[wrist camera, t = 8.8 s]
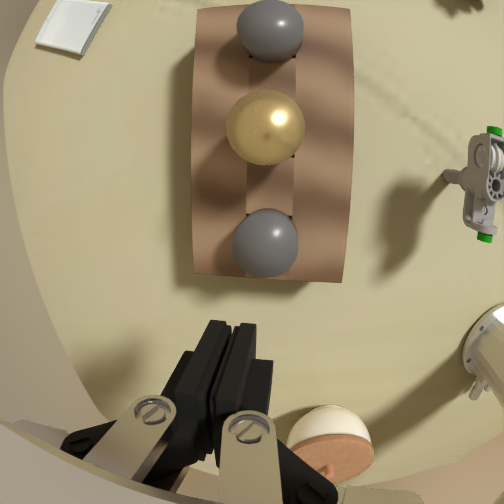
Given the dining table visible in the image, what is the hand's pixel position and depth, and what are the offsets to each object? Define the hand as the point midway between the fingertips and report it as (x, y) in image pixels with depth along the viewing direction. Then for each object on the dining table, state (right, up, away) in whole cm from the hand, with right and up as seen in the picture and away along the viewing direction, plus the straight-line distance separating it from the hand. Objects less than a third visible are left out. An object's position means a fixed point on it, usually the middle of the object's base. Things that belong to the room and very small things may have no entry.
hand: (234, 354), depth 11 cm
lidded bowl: (+12, -22, +30) cm, 39 cm away
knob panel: (+3, +16, +19) cm, 25 cm away
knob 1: (+3, +24, +15) cm, 28 cm away
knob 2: (+3, +7, +20) cm, 22 cm away
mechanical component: (+23, +13, +17) cm, 31 cm away
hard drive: (-25, +36, +17) cm, 47 cm away
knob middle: (+2, +14, +15) cm, 21 cm away
